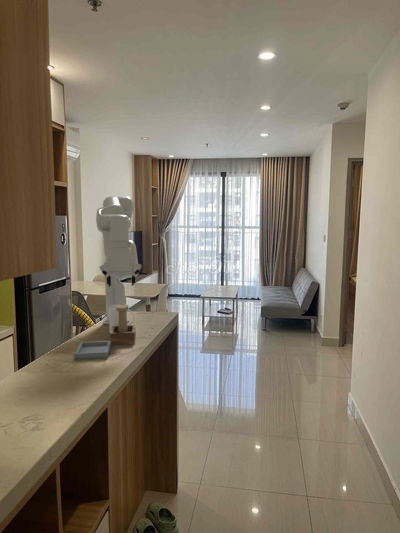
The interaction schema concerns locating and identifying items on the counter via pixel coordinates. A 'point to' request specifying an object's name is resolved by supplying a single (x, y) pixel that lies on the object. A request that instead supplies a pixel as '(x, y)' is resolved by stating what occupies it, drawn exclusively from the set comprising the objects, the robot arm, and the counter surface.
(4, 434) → the counter surface
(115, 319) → the mug
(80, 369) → the counter surface
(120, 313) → the handle
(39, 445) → the counter surface
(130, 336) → the holder
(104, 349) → the tray
